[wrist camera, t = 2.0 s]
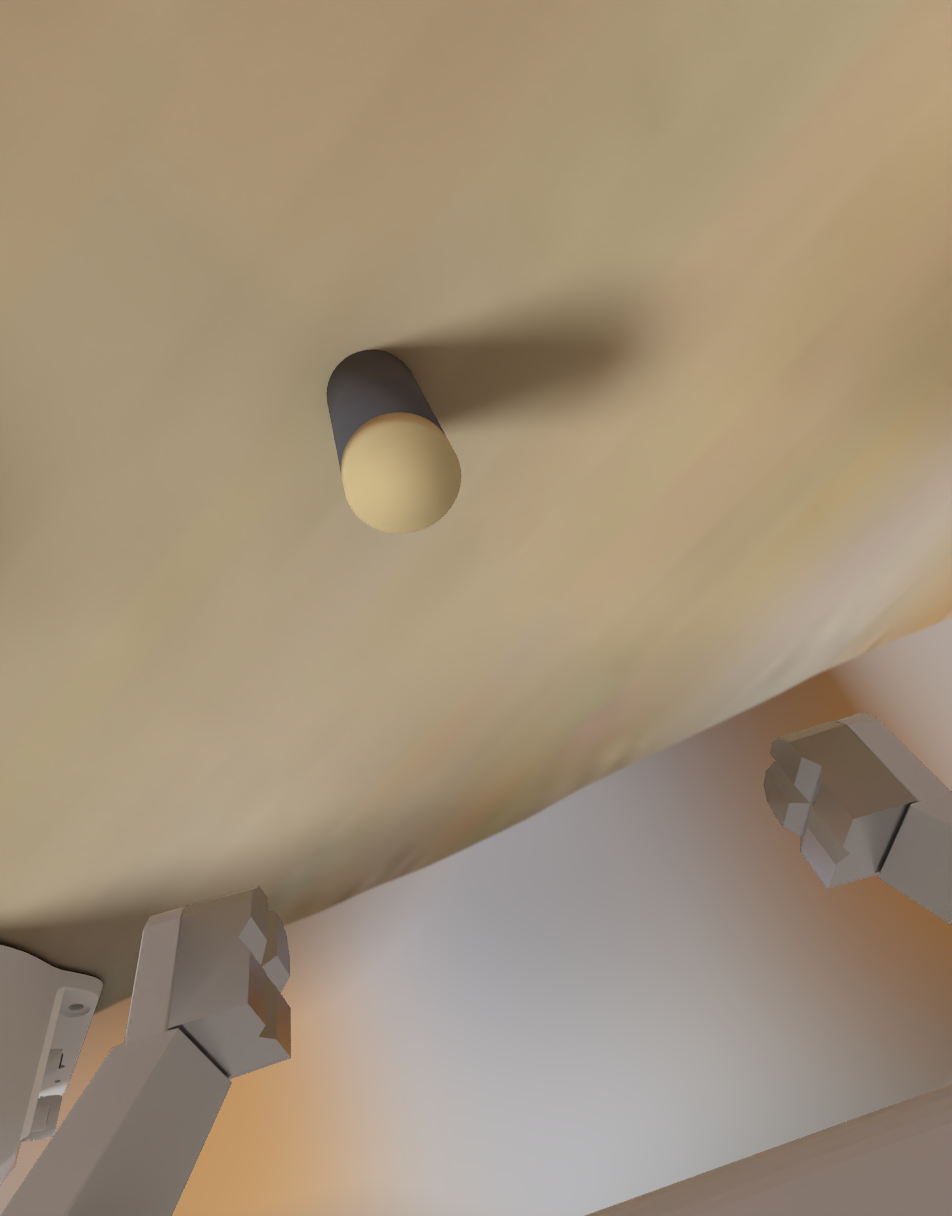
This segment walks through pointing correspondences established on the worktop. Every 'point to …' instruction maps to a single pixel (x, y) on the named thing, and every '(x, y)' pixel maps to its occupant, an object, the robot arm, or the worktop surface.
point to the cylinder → (390, 445)
